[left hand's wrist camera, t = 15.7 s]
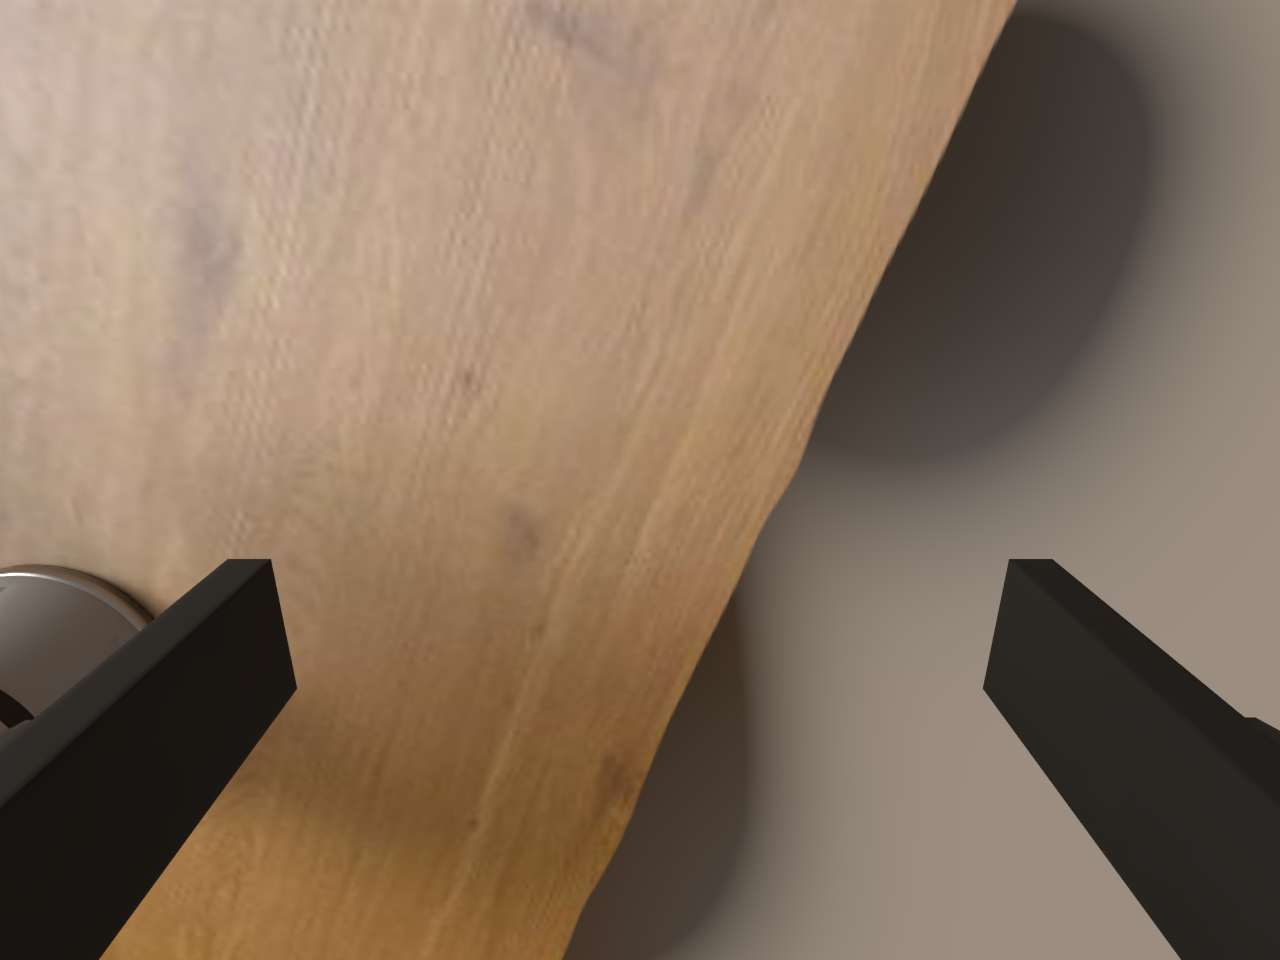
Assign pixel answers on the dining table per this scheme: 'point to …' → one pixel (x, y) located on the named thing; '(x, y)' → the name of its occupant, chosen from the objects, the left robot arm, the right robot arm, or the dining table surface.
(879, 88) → the dining table surface
